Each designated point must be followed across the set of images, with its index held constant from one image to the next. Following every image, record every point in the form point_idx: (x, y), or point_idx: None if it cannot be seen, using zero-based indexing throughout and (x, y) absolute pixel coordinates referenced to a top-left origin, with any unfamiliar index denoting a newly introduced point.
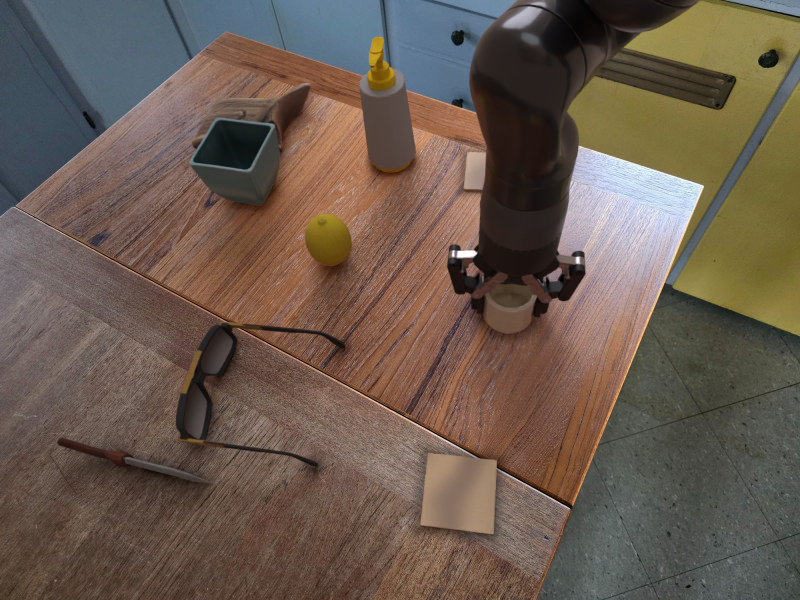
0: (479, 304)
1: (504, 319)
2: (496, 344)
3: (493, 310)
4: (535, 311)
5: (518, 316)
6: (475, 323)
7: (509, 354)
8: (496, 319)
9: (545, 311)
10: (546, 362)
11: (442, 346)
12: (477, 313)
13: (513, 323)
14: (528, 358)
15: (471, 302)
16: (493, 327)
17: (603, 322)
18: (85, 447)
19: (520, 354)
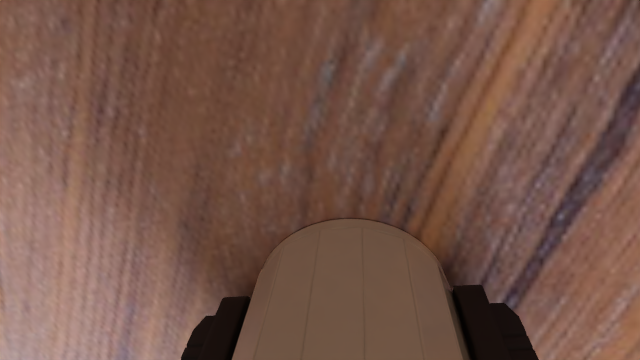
0: (494, 349)
1: (359, 298)
2: (377, 165)
3: (427, 347)
4: (231, 335)
5: (287, 327)
6: (475, 240)
7: (314, 130)
8: (398, 285)
9: (199, 332)
10: (157, 123)
11: (636, 112)
12: (478, 287)
13: (313, 276)
14: (232, 127)
15: (529, 348)
16: (399, 235)
17: (28, 301)
18: None
19: (269, 138)
